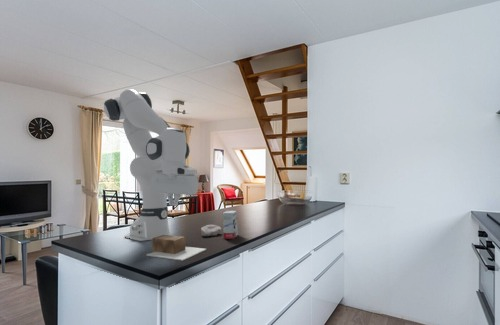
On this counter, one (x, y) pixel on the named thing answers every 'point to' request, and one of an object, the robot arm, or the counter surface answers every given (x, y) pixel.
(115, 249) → the counter surface
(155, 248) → the walnut block
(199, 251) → the mat
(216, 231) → the fossil
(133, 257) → the counter surface
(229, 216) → the ink box
